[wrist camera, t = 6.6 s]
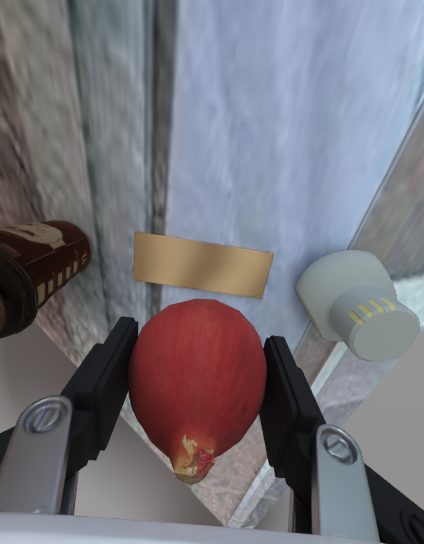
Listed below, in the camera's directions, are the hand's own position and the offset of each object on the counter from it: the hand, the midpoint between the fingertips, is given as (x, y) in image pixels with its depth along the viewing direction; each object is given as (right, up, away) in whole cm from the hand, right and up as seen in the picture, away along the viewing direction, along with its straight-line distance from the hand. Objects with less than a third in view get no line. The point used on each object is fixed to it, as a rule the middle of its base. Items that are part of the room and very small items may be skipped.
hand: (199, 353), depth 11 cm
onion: (0, +1, +3) cm, 3 cm away
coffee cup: (-17, +7, +16) cm, 24 cm away
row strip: (-1, +4, +17) cm, 18 cm away
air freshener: (+15, +2, +18) cm, 24 cm away
